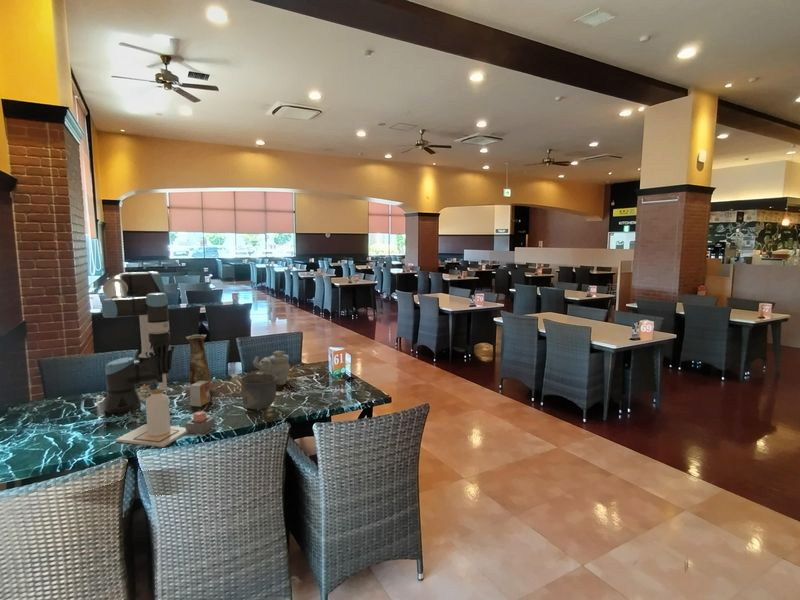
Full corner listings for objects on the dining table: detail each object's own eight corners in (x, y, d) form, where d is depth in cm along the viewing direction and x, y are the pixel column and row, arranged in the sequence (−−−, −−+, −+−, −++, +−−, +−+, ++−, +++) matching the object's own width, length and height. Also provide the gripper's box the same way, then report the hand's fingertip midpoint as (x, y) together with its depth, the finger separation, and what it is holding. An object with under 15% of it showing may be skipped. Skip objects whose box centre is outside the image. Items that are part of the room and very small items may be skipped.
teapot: (252, 384, 252) (251, 351, 249) (272, 377, 265) (271, 346, 262) (275, 388, 244) (274, 355, 242) (293, 381, 257) (292, 349, 255)
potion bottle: (174, 428, 189) (171, 387, 186) (164, 437, 180) (161, 393, 178) (154, 428, 188) (151, 387, 186) (143, 437, 180) (140, 394, 178)
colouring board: (116, 441, 179) (115, 438, 179) (146, 425, 195) (146, 423, 194) (163, 447, 174) (163, 444, 174) (191, 430, 190) (190, 427, 190)
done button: (190, 424, 189) (190, 415, 188) (198, 419, 194) (198, 410, 193) (201, 425, 188) (200, 416, 187) (209, 420, 192) (208, 411, 192)
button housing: (185, 432, 188) (185, 423, 187) (198, 424, 196) (197, 415, 195) (202, 434, 186) (202, 424, 186) (214, 426, 194) (214, 417, 193)
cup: (286, 403, 221) (285, 374, 219) (266, 417, 205) (265, 385, 203) (254, 400, 226) (253, 371, 224) (233, 413, 209) (231, 381, 207)
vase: (203, 394, 235) (200, 338, 231) (185, 393, 237) (181, 337, 233) (214, 388, 245) (212, 334, 241) (197, 387, 247) (193, 333, 243)
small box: (200, 407, 217) (199, 385, 216) (190, 406, 218) (189, 385, 217) (210, 401, 225) (209, 380, 224) (200, 400, 226) (199, 380, 225)
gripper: (154, 335, 172) (158, 395, 175) (178, 329, 184) (182, 385, 187) (138, 334, 174) (142, 393, 176) (163, 328, 186) (167, 384, 189)
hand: (162, 389), depth 182 cm, fingers closed
